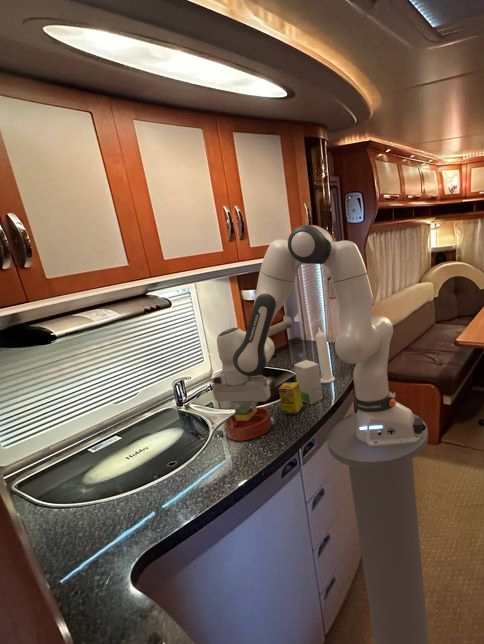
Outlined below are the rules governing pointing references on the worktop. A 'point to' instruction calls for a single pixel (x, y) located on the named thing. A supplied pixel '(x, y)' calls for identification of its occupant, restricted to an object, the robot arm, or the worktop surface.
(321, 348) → the candle
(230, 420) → the bowl
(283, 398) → the supplement box
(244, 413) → the sponge
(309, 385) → the cosmetic box
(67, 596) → the worktop surface
